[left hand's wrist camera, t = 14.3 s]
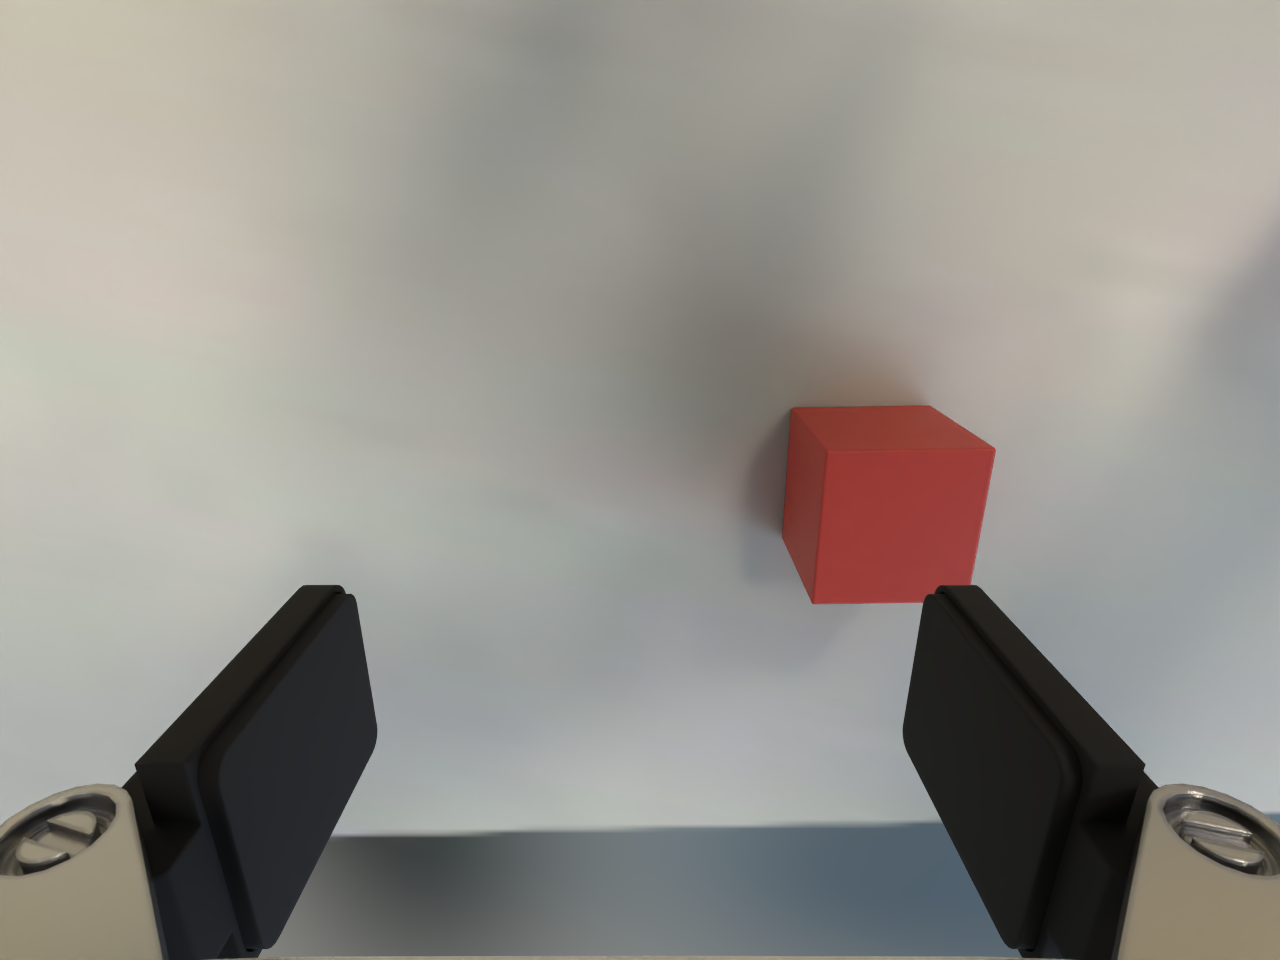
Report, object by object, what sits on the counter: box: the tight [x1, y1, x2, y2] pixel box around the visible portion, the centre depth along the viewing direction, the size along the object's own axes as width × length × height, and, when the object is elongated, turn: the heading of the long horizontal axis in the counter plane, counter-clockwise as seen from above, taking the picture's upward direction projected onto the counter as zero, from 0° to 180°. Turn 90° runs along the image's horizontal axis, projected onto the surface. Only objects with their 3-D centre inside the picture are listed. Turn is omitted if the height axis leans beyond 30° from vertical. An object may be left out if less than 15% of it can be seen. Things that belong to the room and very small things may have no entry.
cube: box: [782, 406, 996, 604], centre depth 20 cm, size 4×5×4 cm
